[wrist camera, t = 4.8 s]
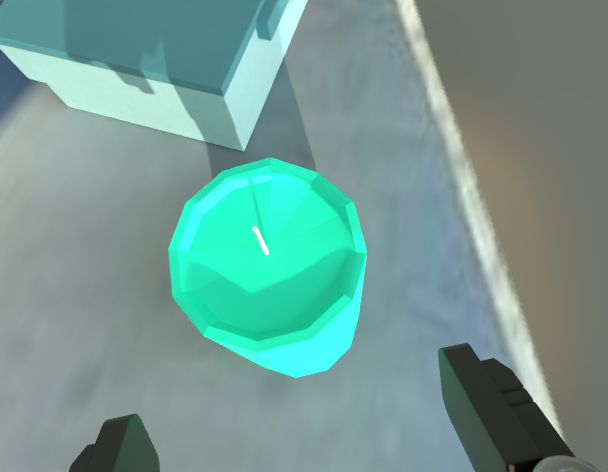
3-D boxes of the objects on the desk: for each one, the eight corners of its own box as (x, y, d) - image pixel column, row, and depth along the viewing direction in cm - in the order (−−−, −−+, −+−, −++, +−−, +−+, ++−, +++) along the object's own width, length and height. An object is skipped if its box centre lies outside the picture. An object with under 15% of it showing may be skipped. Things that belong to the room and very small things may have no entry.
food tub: (48, 109, 29) (-29, 31, 23) (136, -41, 33) (90, -141, 27) (259, 164, 27) (233, 92, 21) (327, -5, 31) (323, -108, 25)
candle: (317, 402, 22) (288, 395, 11) (216, 335, 23) (97, 266, 12) (380, 295, 23) (411, 190, 12) (280, 238, 25) (228, 98, 14)
